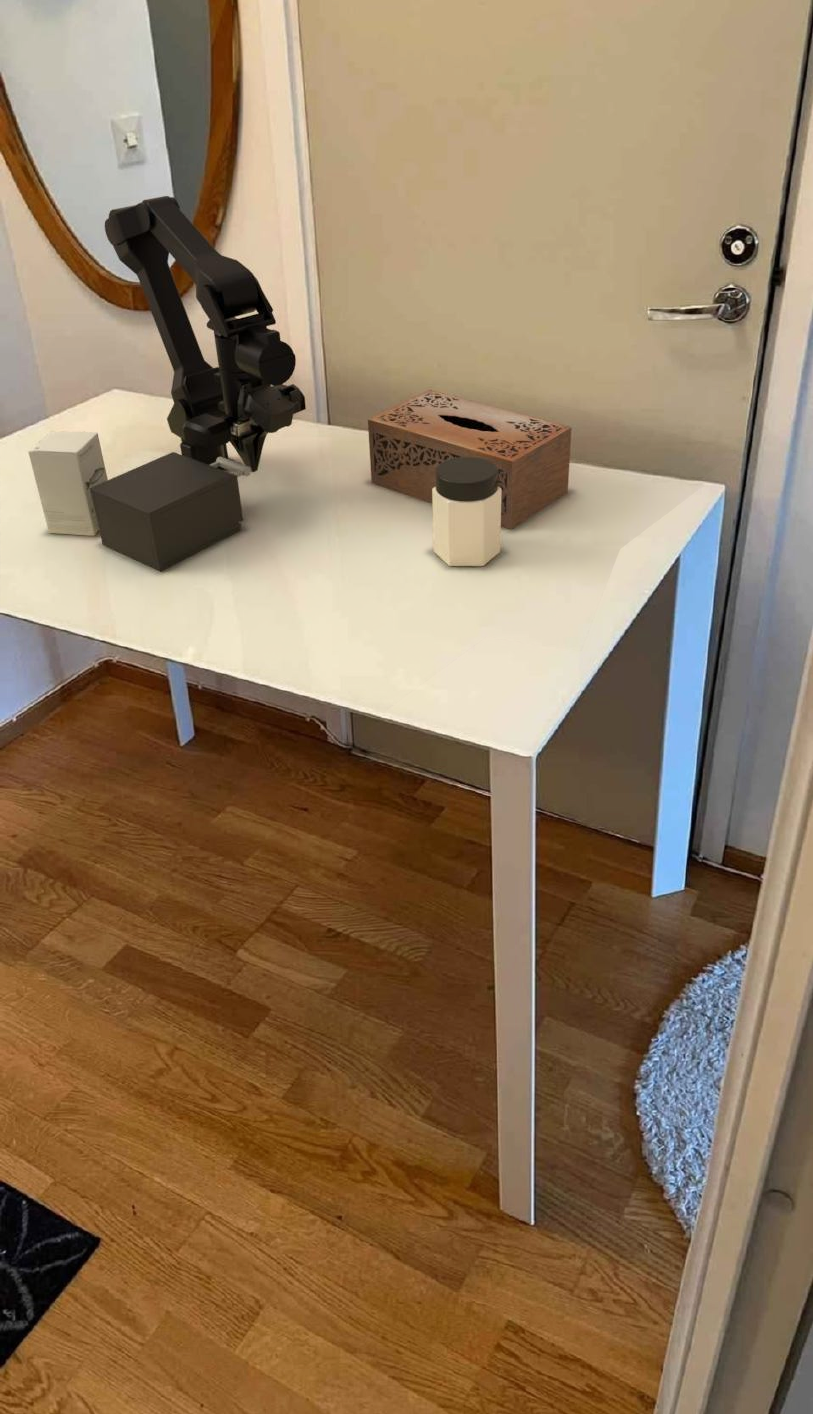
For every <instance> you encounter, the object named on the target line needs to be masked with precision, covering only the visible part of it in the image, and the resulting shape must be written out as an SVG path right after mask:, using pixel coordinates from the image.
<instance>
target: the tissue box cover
mask: <svg viewBox="0 0 813 1414" xmlns="http://www.w3.org/2000/svg"><path fill="white" fill-rule="evenodd" d="M367 427H368V429H367V431H368V445H369V462H370V464H369V465H370V479H371V480H370V481H371V484H374V485H377V486H380V487H383V488H385V489H389V490H392V491H395V492H398V493H400V494H404V495H406V496H410V497H413V498H416V499H419V500H422V501H425V502H428V503H431V504H432V489H433V488H434V487H435V470H436V468H437V466H438V465H439V464H440V463H442V462H444V461H446V460H449V459H453V458H458V457H477V458H483V459H486V460H489V461H491V462H493V463H494V464H495V465H496V466H497V467H498V474H499V484H498V486H499V487H500V488H501V489H502V492H501V528H502V527H503V528H506V529H508V530H512V529H514V528H516V527H517V526H518V525H519V524H520V525H521V523H523V522H524V521H526V520H527V519H529V518H530V517H532V516H533V515H535V514H537V513H538V512H540V511H541V510H543V509H544V508H546V507H548V506H549V505H550V504H552V503H553V502H555V501H557V500H558V499H560V498H561V497H562V496H564V495H566V494H567V493H568V492H569V477H570V475H569V474H570V460H571V445H572V428H573V427H572V426H569V425H565V424H561V423H557V422H553V421H550V420H546V419H542V418H539V417H535V416H531V415H527V414H523V413H520V412H516V411H512V410H508V409H505V408H501V407H498V406H493V405H489V404H487V403H481V402H478V401H474V400H471V399H467V398H462V397H459V396H455V395H451V394H447V393H444V392H440V391H436V390H433V389H428V390H426V391H424V392H422V393H420V394H418V395H415V396H412V398H409V399H406V400H405V401H403V402H401V403H399V404H397V405H395V406H393V407H391V408H388V409H386V410H384V411H382V412H379V413H378V414H376V415H374V416H372V417H370V418H368V419H367Z"/></svg>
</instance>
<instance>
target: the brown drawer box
mask: <svg viewBox="0 0 813 1414" xmlns="http://www.w3.org/2000/svg"><path fill="white" fill-rule="evenodd" d="M90 492H91V496H92V500H93V505H94V509H95V513H96V517H97V522H98V526H99V530H98V531H99V533H100V538H101V543H102V545H103V546H105V547H107V548H109V549H110V550H113V551H115V552H117V553H119V554H122V555H123V556H125V557H128V558H130V559H132V560H135V561H137V562H139V563H141V564H143V565H146V566H147V567H150V568H152V569H155V570H156V571H159V572H162V571H164V570H166V569H168V568H171V567H172V566H174V565H176V564H178V563H180V562H182V561H184V560H186V559H187V558H189V557H191V556H193V555H195V554H197V553H199V552H201V551H203V550H205V549H206V548H209V547H211V546H213V545H215V544H216V543H219V542H221V541H222V540H225V539H226V538H228V537H230V536H232V535H234V534H236V533H238V532H240V531H241V530H242V528H241V521H240V520H239V513H238V506H237V499H236V492H235V486H234V479H233V473H232V472H229V471H227V470H225V469H223V470H221V469H218V468H216V467H213V466H210V465H207V464H205V463H202V462H199V461H196V460H194V459H191V458H188V457H186V456H183V455H182V454H181V453H177V452H174V451H172V452H170V453H167V454H165V455H163V456H160V457H158V458H156V459H154V460H151V461H149V462H146V463H144V464H142V465H139V466H137V467H135V468H132V469H131V470H128V471H126V472H123V473H121V474H119V475H117V476H114V477H112V478H110V479H108V480H107V481H105V482H103V483H101V484H98V485H96V486H94V487H91V488H90Z"/></svg>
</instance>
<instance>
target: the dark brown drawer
mask: <svg viewBox="0 0 813 1414" xmlns="http://www.w3.org/2000/svg"><path fill="white" fill-rule="evenodd" d="M210 466H213V467H216V468H217V467H222V468H225V469H224V470H228V471H230V472H233V473H232V474H233V479H234V486H235V492H236V499H237V506H238V513H239V520H240V522H243V521H244V515H243V508H242V501H241V500H242V499H241V494H240V487H239V480H238V478H239V477H241V476H243V477H249V476H251V473H252V472H251V468H250V467H248V466H246V465H245V464H244V463H240V462H237V461H235V462H234V461H232V460H229V459H226V458H223V457H218V458H217V459H216V462H214V463H212V464H210Z"/></svg>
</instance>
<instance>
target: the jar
mask: <svg viewBox="0 0 813 1414" xmlns="http://www.w3.org/2000/svg"><path fill="white" fill-rule="evenodd" d="M498 484H499V474H498V467H497V466H496V465H495V464H494V463H493V462H491V461H489V460H486V459H483V458H477V457H458V458H453V459H449V460H446V461H444V462H442V463H440V464H439V465H438V466H437V468H436V470H435V487H434V488H433V489H432V503H431V504H432V544H433V549H432V550H433V552H434V554H435V555H437V556H438V557H439V558H440V559H441V560H442V561H443V562H444V563H446V565H447V566H449V567H484V566H485V565H486V564H487V563H489V562H490V561H491V560H492V559H493V558H495V557H496V556H497V555H499V553H500V552H501V538H502V537H501V536H502V534H501V533H502V526H501V492H502V489H501V488H500V487H499V486H498Z"/></svg>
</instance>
